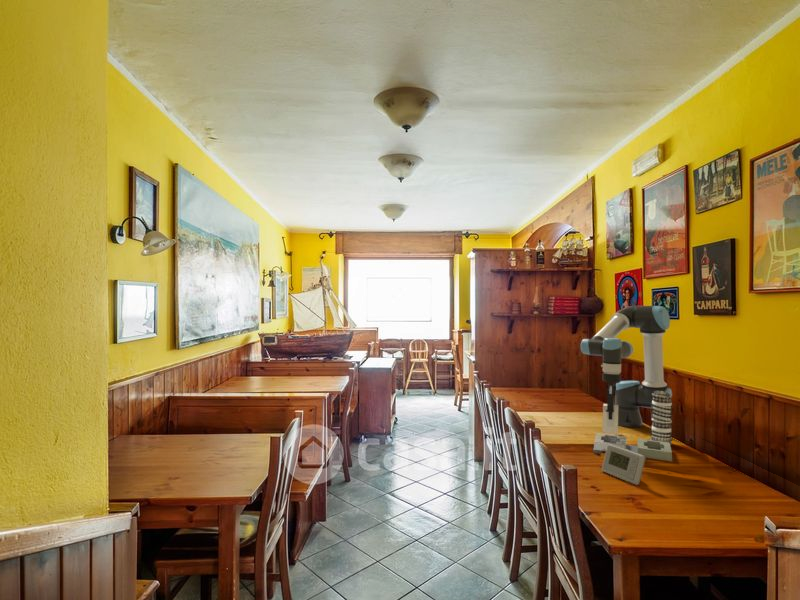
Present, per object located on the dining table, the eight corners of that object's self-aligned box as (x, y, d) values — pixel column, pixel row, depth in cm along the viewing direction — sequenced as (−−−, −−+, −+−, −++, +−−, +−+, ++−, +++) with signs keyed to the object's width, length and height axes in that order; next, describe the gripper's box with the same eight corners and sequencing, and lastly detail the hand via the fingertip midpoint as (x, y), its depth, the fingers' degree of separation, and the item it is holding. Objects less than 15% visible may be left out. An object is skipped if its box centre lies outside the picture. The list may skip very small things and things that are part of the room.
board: (593, 453, 202) (593, 449, 202) (595, 443, 216) (595, 440, 216) (672, 465, 189) (672, 461, 189) (670, 454, 202) (670, 450, 202)
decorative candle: (671, 450, 207) (672, 394, 207) (648, 446, 213) (649, 392, 213) (674, 445, 215) (675, 391, 214) (651, 441, 220) (652, 389, 220)
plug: (602, 432, 205) (603, 398, 205) (603, 430, 209) (603, 396, 209) (617, 434, 203) (618, 400, 203) (617, 431, 207) (618, 398, 207)
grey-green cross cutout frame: (637, 456, 195) (637, 447, 195) (637, 446, 208) (637, 438, 208) (671, 461, 189) (671, 452, 189) (669, 450, 202) (669, 442, 202)
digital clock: (599, 470, 181) (599, 443, 181) (618, 469, 184) (619, 442, 184) (629, 487, 166) (629, 457, 166) (650, 485, 168) (650, 456, 168)
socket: (593, 449, 202) (594, 441, 202) (596, 440, 216) (596, 432, 216) (625, 454, 197) (625, 446, 197) (626, 444, 210) (626, 436, 210)
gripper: (603, 369, 216) (602, 419, 216) (601, 374, 200) (600, 428, 200) (621, 371, 212) (620, 421, 212) (620, 376, 196) (619, 431, 197)
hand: (610, 425), depth 206 cm, fingers closed on plug, 4 cm apart
